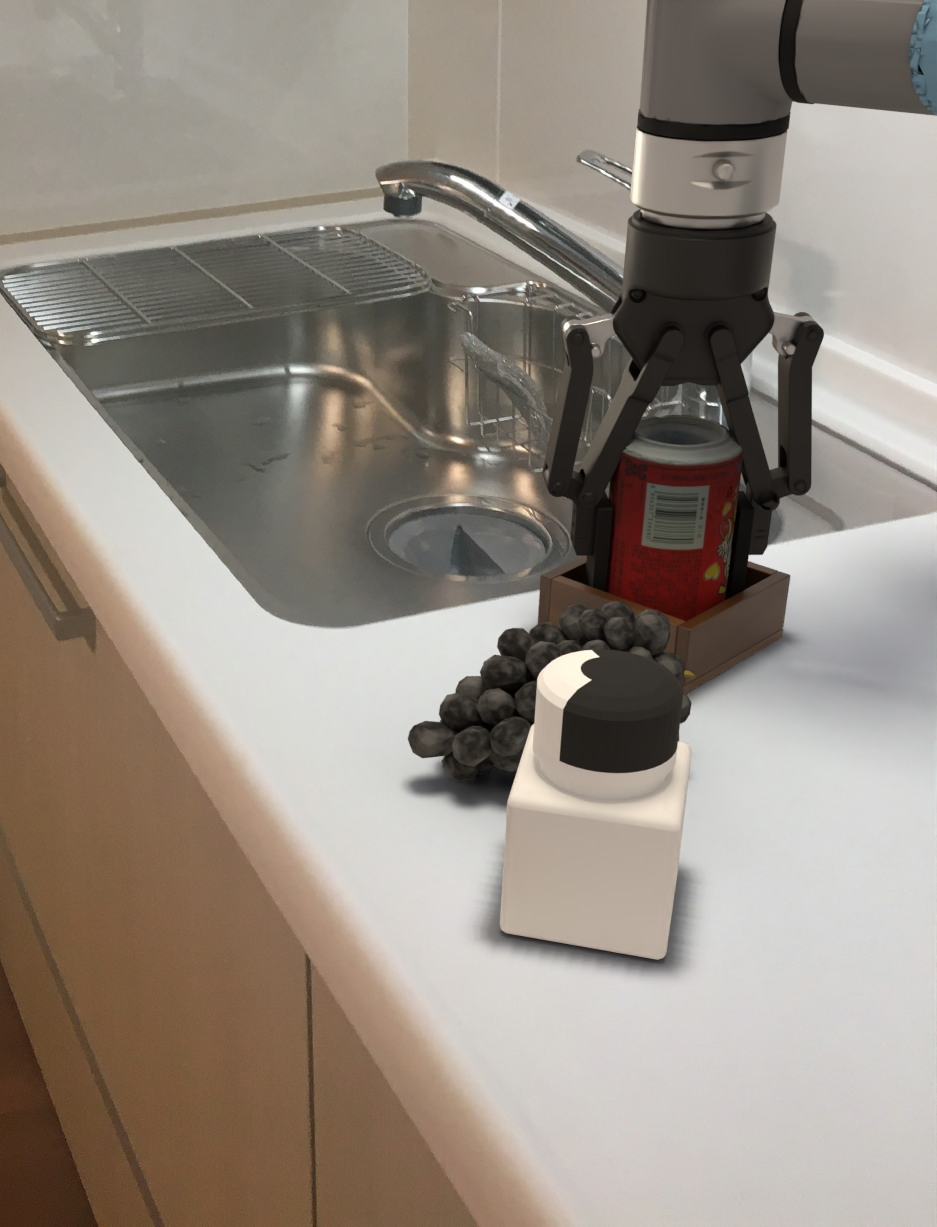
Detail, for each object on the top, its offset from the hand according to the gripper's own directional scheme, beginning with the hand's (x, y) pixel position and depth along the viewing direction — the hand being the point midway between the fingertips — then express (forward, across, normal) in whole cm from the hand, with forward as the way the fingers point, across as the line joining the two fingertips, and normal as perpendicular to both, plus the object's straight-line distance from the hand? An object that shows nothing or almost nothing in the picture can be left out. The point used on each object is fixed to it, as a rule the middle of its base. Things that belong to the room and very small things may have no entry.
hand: (661, 602), depth 98 cm
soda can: (+2, 0, 0) cm, 2 cm away
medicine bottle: (+2, -8, -27) cm, 28 cm away
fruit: (+2, -9, -14) cm, 17 cm away
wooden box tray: (+2, 0, 0) cm, 2 cm away
